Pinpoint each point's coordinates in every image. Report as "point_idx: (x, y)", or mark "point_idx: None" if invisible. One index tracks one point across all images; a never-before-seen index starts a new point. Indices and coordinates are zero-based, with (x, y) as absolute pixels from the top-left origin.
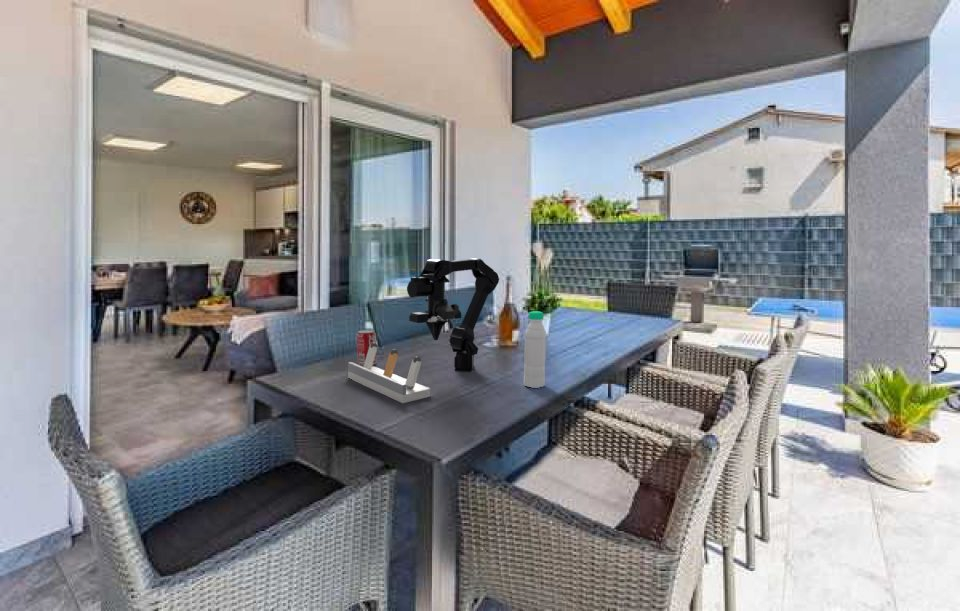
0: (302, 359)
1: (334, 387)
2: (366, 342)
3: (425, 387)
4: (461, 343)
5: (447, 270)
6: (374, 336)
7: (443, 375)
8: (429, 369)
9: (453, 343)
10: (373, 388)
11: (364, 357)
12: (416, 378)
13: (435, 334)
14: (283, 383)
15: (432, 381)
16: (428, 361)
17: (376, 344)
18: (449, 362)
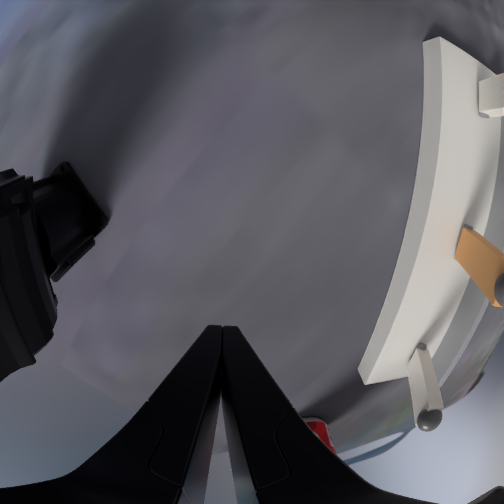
0: (349, 464)
1: None
2: None
3: (445, 56)
4: (7, 211)
5: None
6: None
7: (194, 195)
8: (185, 308)
9: (40, 294)
10: None
11: (328, 437)
12: (494, 76)
13: (262, 372)
14: (474, 370)
15: (302, 154)
16: (133, 374)
17: (433, 418)
18: (75, 324)
